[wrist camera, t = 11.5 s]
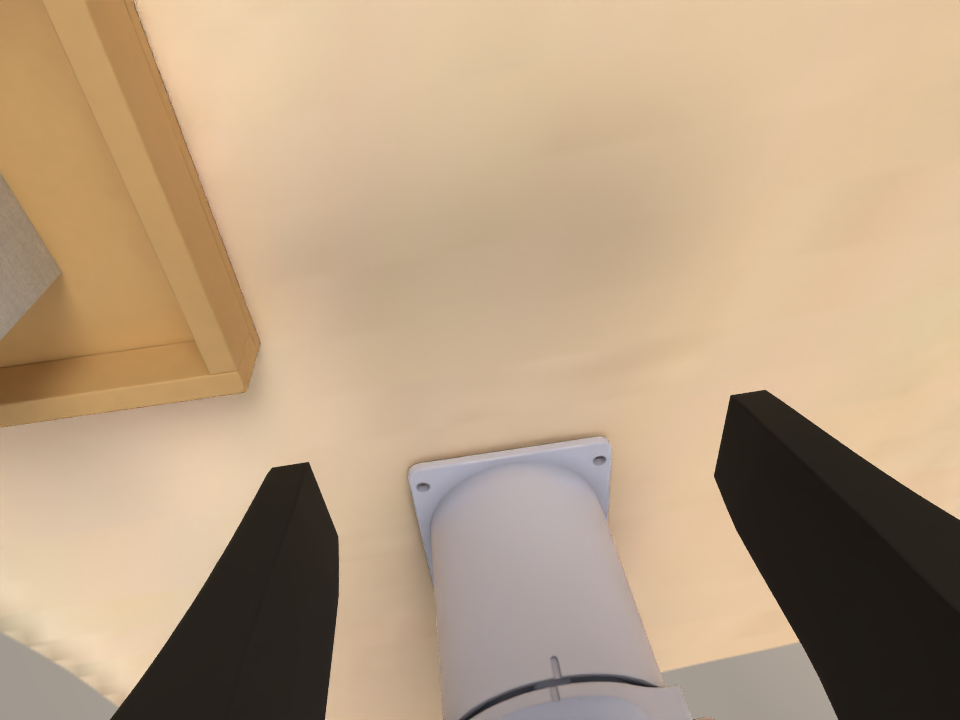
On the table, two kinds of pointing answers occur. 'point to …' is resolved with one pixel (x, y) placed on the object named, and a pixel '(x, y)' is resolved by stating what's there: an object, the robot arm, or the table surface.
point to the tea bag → (20, 261)
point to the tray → (109, 225)
